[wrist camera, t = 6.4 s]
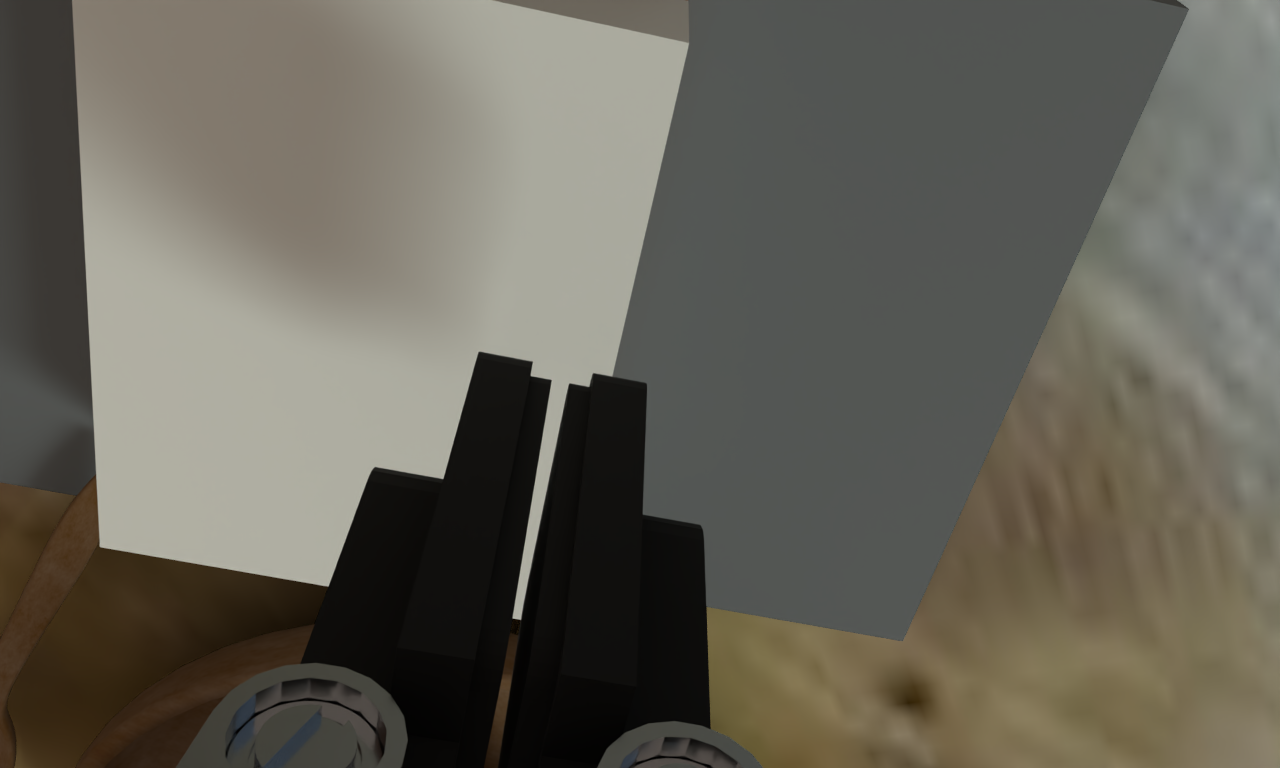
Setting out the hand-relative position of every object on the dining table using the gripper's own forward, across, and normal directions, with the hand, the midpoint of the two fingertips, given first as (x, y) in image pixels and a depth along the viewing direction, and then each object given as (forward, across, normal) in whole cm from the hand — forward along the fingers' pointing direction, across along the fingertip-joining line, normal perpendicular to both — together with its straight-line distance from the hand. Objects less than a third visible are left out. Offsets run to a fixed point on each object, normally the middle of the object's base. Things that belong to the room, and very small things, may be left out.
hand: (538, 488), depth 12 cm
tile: (+3, -1, 0) cm, 3 cm away
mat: (+5, +1, 0) cm, 5 cm away
